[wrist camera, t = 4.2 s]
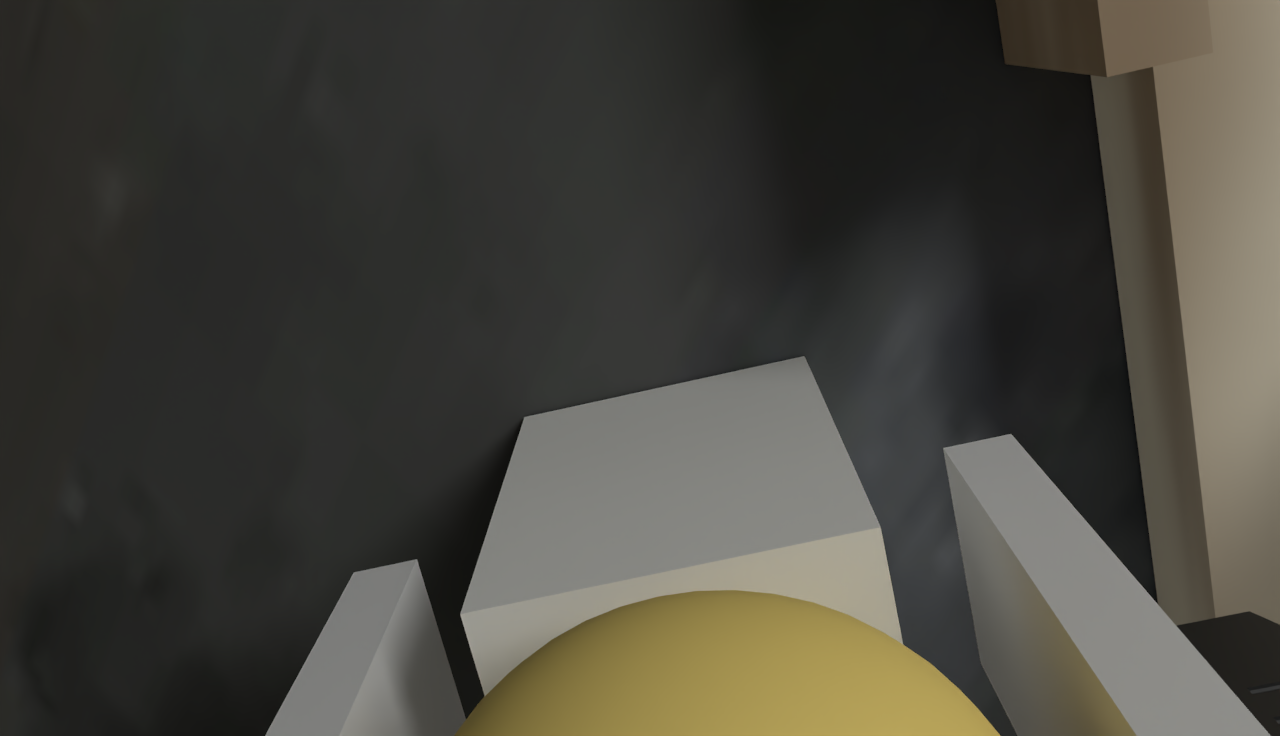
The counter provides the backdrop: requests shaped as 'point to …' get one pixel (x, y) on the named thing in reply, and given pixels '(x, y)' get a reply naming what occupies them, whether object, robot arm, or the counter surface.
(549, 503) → the tee
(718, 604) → the ball
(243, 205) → the counter surface
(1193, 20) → the lane
